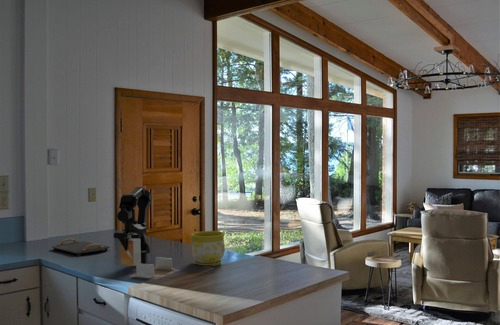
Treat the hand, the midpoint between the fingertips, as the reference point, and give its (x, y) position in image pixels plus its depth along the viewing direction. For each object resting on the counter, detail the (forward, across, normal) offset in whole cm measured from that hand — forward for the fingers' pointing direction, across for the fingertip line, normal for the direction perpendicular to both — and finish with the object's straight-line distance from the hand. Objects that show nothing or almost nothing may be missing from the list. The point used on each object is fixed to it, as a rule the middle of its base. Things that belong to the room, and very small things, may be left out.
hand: (130, 249), depth 268 cm
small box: (+8, 0, 0) cm, 8 cm away
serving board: (+12, +34, +70) cm, 78 cm away
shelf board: (+11, 0, -15) cm, 19 cm away
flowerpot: (+12, +30, -28) cm, 42 cm away
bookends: (+11, 0, -15) cm, 18 cm away
